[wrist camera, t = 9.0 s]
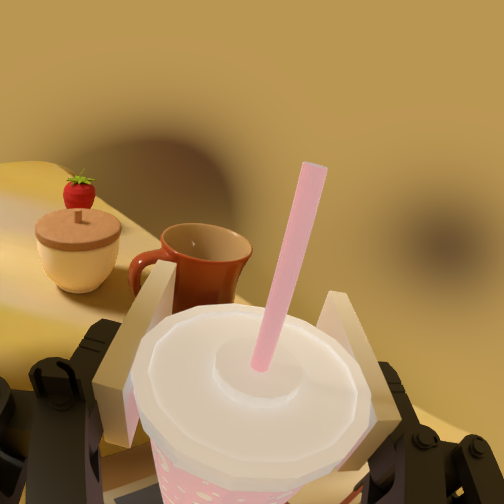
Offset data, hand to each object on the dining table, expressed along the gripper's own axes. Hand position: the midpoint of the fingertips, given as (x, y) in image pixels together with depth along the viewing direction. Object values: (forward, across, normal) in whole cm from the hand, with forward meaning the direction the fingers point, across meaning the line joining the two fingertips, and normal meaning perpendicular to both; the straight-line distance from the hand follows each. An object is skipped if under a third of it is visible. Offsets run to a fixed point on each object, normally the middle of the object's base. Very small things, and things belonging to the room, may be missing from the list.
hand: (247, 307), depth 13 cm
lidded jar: (+21, -19, -15) cm, 32 cm away
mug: (+16, -4, -15) cm, 23 cm away
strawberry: (+38, -28, -15) cm, 50 cm away
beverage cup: (-5, 0, -8) cm, 9 cm away
